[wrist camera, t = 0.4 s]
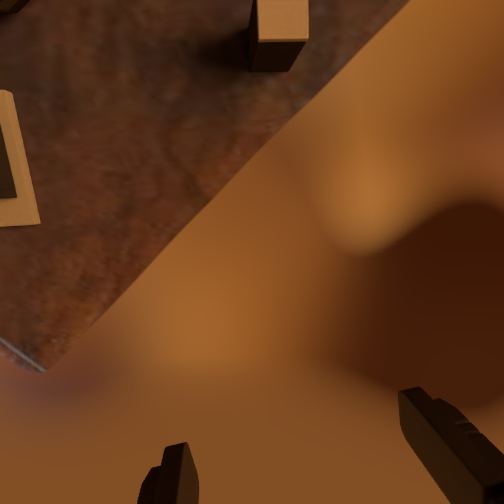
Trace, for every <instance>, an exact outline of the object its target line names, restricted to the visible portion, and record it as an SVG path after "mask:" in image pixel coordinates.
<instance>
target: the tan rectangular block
mask: <svg viewBox="0 0 504 504" xmlns="http://www.w3.org/2000/svg"><path fill="white" fill-rule="evenodd" d="M248 30H249V51H250V71H251V72H272V71H289V70H290V68H291V66H292V65H293V63H294V61H295V60H296V58H297V56H298V55H299V53H300V51H301V50H302V48H303V46H304V45H305V43H306V41H307V40H308V0H253V4H252V10H251V15H250V21H249V27H248Z"/></svg>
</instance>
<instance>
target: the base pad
mask: <svg viewBox="0 0 504 504" xmlns="http://www.w3.org/2000/svg"><path fill="white" fill-rule="evenodd" d="M39 223H41V222H40V218H39V213H38V209H37V204H36V200H35V195H34V190H33V186H32V181H31V177H30V172H29V168H28V163H27V159H26V154H25V150H24V145H23V140H22V136H21V131H20V127H19V122H18V118H17V113H16V109H15V104H14V100H13V95H12V93H11V92H8V91H6V90H0V227H4V226H20V225H35V224H39Z"/></svg>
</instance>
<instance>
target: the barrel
mask: <svg viewBox="0 0 504 504" xmlns="http://www.w3.org/2000/svg"><path fill="white" fill-rule="evenodd" d="M29 1H30V0H0V14H12V13H18V12H19V11H20V10H21V9H22V8H23V7H24V6H25V5H26V4H27V3H28V2H29Z"/></svg>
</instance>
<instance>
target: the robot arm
mask: <svg viewBox="0 0 504 504" xmlns="http://www.w3.org/2000/svg"><path fill="white" fill-rule="evenodd" d="M398 402H399V416H400V425H401V429H402V432H403V434H404V437H405V438H406V440H407V442H408V443H409V445H410V446H411V448H412V449H413V450H414V452H415V453H416V455H417V456H418V457H419V459H420V461H421V462H422V463H423V465H424V466H425V468H426V469H427V470H428V472H429V473H430V475H431V476H432V477H433V479H434V480H435V482H436V483H437V485H438V486H439V488H440V489H441V491H442V492H443V493H444V494H445V496H446V497H447V499H448V500H449V502H450V503H451V504H504V454H503V453H502V452H500V451H499V450H498V449H497V448H496V447H495V446H494V445H493V444H492V443H491V442H490V441H489V440H488V439H487V438H486V437H485V436H484V435H483V434H482V433H480V432H479V430H478V429H477V428H476V427H475V426H474V425H473V424H472V423H470V422H469V420H468V419H467V418H466V417H465V416H464V415H463V414H461V412H460V411H459V410H458V409H457V408H456V407H454V406H452V405H451V404H449V403H447V402H445V401H443V400H442V399H439V398H438V399H434V400H433V399H432V398H431V397H430V396H429V395H428V394H427V393H426V392H425V391H424V390H423V389H422V388H421V387H415V388H411V389H406V390H402V391H399V392H398ZM198 502H199V480H198V474H197V471H196V467H195V464H194V461H193V458H192V455H191V452H190V448H189V445H188V443H187V442H184V443H180V444H176V445H171V446H167V447H166V448H165V450H164V454H163V459H162V463H161V466H157V467H153V468H151V470H150V471H149V473H148V475H147V476H146V478H145V480H144V481H143V483H142V485H141V489H140V493H139V497H138V501H137V504H198Z"/></svg>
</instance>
